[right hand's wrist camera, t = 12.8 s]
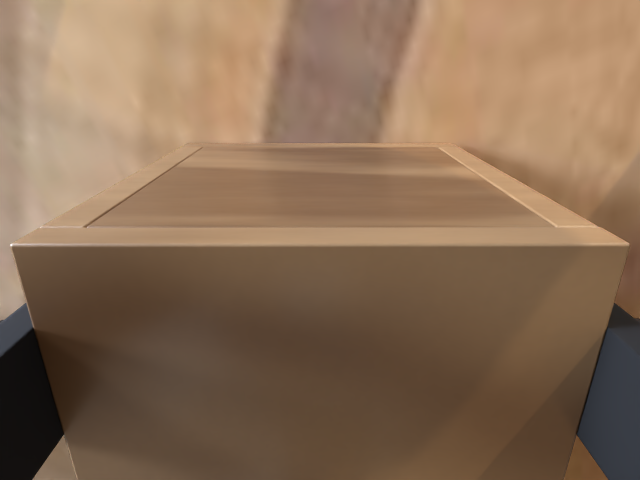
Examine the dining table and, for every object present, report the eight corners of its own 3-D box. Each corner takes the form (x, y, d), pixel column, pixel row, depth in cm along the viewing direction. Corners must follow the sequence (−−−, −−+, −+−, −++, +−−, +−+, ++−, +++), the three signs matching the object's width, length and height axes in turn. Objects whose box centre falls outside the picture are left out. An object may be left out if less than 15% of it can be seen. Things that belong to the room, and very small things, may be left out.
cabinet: (417, 465, 25) (487, 750, 14) (223, 465, 25) (153, 750, 14) (453, 142, 18) (632, 243, 8) (186, 143, 18) (7, 243, 8)
